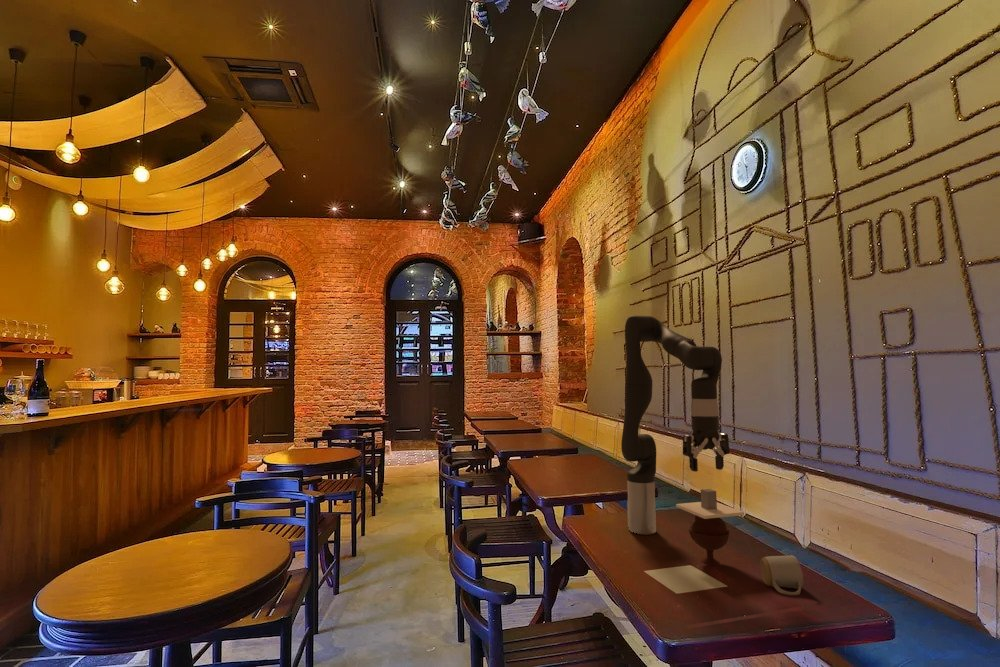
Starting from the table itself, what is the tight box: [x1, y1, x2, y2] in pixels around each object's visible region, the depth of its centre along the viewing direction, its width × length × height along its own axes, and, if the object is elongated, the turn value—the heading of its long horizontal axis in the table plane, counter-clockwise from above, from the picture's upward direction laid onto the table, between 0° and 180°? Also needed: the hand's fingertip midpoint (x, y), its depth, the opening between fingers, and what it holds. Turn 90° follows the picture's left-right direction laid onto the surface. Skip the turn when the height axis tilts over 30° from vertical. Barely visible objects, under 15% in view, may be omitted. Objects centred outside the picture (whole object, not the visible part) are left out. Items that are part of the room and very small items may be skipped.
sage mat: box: [643, 564, 728, 595], centre depth 134 cm, size 15×15×1 cm
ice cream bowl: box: [688, 515, 730, 566], centre depth 146 cm, size 11×11×15 cm
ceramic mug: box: [759, 554, 804, 596], centre depth 128 cm, size 11×8×8 cm
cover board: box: [675, 488, 745, 519], centre depth 147 cm, size 13×13×6 cm
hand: (706, 470), depth 147 cm, fingers open, 8 cm apart
